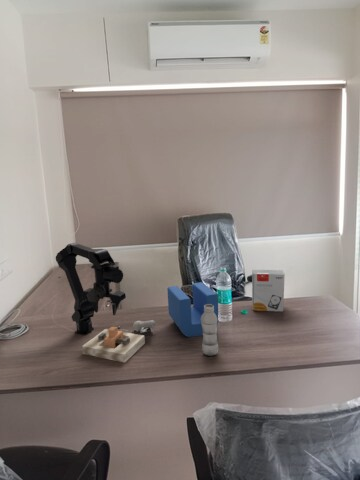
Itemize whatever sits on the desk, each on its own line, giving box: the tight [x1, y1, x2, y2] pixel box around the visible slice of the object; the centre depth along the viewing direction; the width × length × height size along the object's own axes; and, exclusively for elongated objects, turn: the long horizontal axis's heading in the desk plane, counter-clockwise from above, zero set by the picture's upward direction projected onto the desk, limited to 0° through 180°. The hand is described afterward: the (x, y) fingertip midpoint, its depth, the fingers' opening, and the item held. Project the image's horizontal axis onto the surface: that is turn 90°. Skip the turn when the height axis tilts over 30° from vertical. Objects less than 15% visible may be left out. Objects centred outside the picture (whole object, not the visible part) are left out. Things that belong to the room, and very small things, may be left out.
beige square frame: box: [81, 328, 146, 363], centre depth 140 cm, size 20×16×5 cm
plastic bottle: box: [201, 304, 220, 357], centre depth 131 cm, size 6×7×20 cm
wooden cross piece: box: [104, 326, 124, 349], centre depth 139 cm, size 4×8×8 cm, turn 157°
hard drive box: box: [251, 269, 285, 313], centre depth 172 cm, size 16×8×20 cm, turn 81°
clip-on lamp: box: [117, 319, 156, 338], centre depth 151 cm, size 12×6×18 cm
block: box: [167, 281, 219, 338], centre depth 155 cm, size 18×18×18 cm
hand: (105, 313), depth 145 cm, fingers open, 9 cm apart
